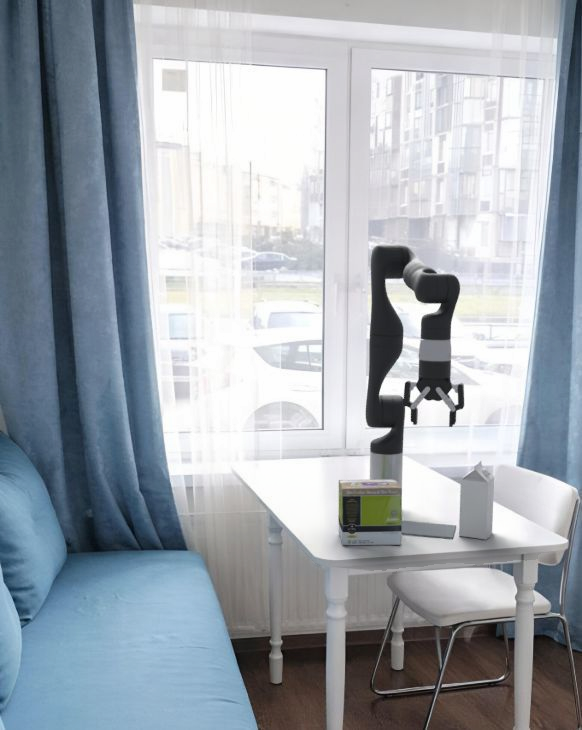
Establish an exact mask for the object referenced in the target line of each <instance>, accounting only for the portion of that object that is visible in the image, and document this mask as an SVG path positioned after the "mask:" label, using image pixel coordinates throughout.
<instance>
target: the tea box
mask: <svg viewBox="0 0 582 730" xmlns="http://www.w3.org/2000/svg"><path fill="white" fill-rule="evenodd" d="M402 496H403V487H402V488H401V487H400V486H399V484H398V483H397V482H396V480H395V479H376V480H370V479H339V480H338V515H337V516H338V534H339V538H340V541H341V544H342V546H383V545H384V546H385V545H387V546H393V545H395V546H396V545H397V546H398V545H399V546H401V545H402V540H403V539H402V537H403V534H402V521H403V515H402V514H403V513H402V511H403V506H402V505H403V499H402V498H403V497H402Z"/></svg>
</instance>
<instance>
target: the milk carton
mask: <svg viewBox="0 0 582 730" xmlns="http://www.w3.org/2000/svg"><path fill="white" fill-rule="evenodd" d="M494 489H495V476H494V475H493V474H492V472H491V470H490V469H489V468H488V467H485V466H484V465H483V464H482V460H481V459H480V460H479V461H478V462H476V463H475V465H474V469H472V470H470V471H469V472H467V474H465V475H464V476H463V477H462V478H461V479H460V491H459V493H460V495H459V497H460V498H459V522H458V523H459V525H458V526H459V528H458V536H460V537H465V538H472V539H473V538H474V539H477V540H478V539H479V540H486V539H489V537H490V536H491V535H492V533H493V521H494V520H493V517H494V515H493V514H494V492H495V491H494Z"/></svg>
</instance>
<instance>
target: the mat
mask: <svg viewBox="0 0 582 730" xmlns="http://www.w3.org/2000/svg"><path fill="white" fill-rule="evenodd" d="M456 527H457V525H456V524H454V525H453V524H445V523H433V522H422V521H408V520H402V536H403V535H405V536H417V537H426V538H437V539H447V538H449V540H453V539H454V535H455V532H456V531H455V530H456Z"/></svg>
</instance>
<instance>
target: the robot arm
mask: <svg viewBox="0 0 582 730" xmlns="http://www.w3.org/2000/svg"><path fill="white" fill-rule="evenodd" d="M370 256H371V257H370V285H371V287H370V291H371V293H370V294H371V305H370V306H371V310H370V311H371V312H370V324H369V325H370V327H369V344H368V345H369V349H368V350H369V353H368V355H369V356H368V357H369V361H368V363H369V366H368V378H367V379H368V380H367V381H368V383H367V390H366V392H367V393H366V401H365V422H366V424H367V426H368V427H369V428H373V429H375V428H376V429H377V428H379V429H380V428H381V429H390V430H389V432H387V433H386V434H384V435H382V436H380V437H378V438H375V439H372V440H371V442H370V445H369V447H370V448H369V449H370V451H369V480H376V479H395V480H396V482H397V483H398V484H399V486H400V487H401V488H402V489H403V464H404V463H403V462H404V461H403V459H404V457H403V455H404V454H403V452H404V433H405V431H404V430H405V419H406V407H407V408H409V409H410V422H411V423H412V424H413V425H414V426H416V425H418V416H419V412H418V410H419V409H418V406H419V405H420V403H421V402H422V401H423V400H426V401H429V402H430V401H435V402H441V401H443V402H444V403H445V405H446V406H447V407H448V409H449V416H448V417H449V419H448V422H449V423H448V427H449V428H452V427H453V426H454V425H456V423H457V411H460V410H462V409H464V407H465V385H464V383H462V382H460V383H452V381H451V372H452V342H451V336H452V321H453V317H454V313H455V309H456V306H457V303H458V301H459V300H458V299H459V296H460V291H461V284H460V281H459V278H458V277H457V276H456V275H455V274H452V273H438V272H437V271H436V270H435V269H434V268H432V267H431V266H428V265H427V264H425V263H423V262H422V261H421V259H420V258H419V257H418V255H417V254H416V253H415V252H414V250H413V249H412V248H411V247H410V246H408V245H406V244H377V245H375V246H374V247H373V248H372V250H371V254H370ZM401 279H402V280H403V282H404V283H405V286H406V287H407V288H409V289H410V290H412V291H413V293H414V296H415V298H416V300H417V302H420V303H422V304H429V305H430V304H434V305H435V304H437V305H438V304H440V306H439V308H438V309H437V310H436V311H434V312H431V313H427V314H424V315H422V317H421V319H420V320H421V321H420V340H419V341H420V342H419V349H418V352H419V353H418V376H417V377H418V379H417V382H416V381H411V380H407V381H405V382H404V390H403V396H402V395H397V394H395V395H394V394H393V395H391V394H387V395H386V394H383V395H382V394H380V393H381V392H380V391H381V388H382V386H383V383H384V381H385V379H386V377H387V375H388V374H389V372H390V371H391V369H392V368H393V367H394V366H395V364H396V363H397V361H398V360H399V358H400V356H401V355H402V352H403V347H404V326H403V325H404V324H403V322H402V321H401V320H402V319H401V318H400V316H399V314H398V313H397V311H396V310H395V308H394V306H393V304H392V303H391V301H390V298H389V297H388V293H387V288H386V287H387V286H386V281H387V280H401ZM415 387H416V389H417V390H418V392H419V395H418V396H417V397H416V398H415V400H414V401H413V402H412V401H411V394H412V393H411V392H412V391H413V390H414V388H415ZM452 389H453V390H454V393H456V394H457V404H455V403H454V401H453V399H452V397H451V396H450V395H449V393H450V392H451V390H452Z"/></svg>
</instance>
